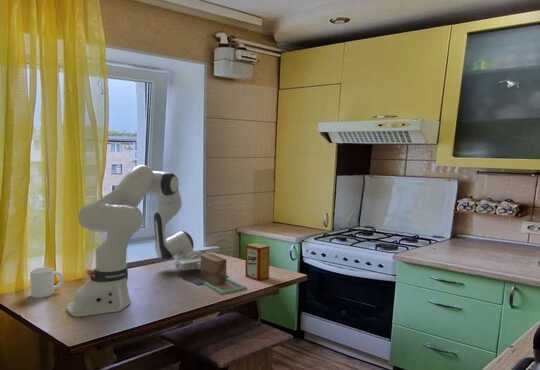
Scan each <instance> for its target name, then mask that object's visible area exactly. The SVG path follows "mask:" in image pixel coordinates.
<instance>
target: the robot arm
mask: <svg viewBox="0 0 540 370" xmlns="http://www.w3.org/2000/svg"><path fill="white" fill-rule="evenodd" d="M146 195H147V196H152V197H153V196H154V197H156V201H157V208H156V211H155V213H154V216H153V227H154V236H155V237H154V238H155V245H154V250H155V254H156V256H157V257H158V258H159V259H161V260H162V261H163V260H164V261H168V260H170V259H172V258H173V259H174V260H175V262H174V265H175V266H177V267H178V269H179V270H180V271H189V270H196V269H201V255H208V254H210V252H209V251H197V250H196V251H195V250H194V239H193V237H192V236H191V234H189V233H188V232H187V231H185V230H180V231H178V232H175V233H174V234H172V235H170V236H169V237H166V227H167V225H168V224H169V222H170V221H171V220H172V219H173V218H174V217H175V216H176V215H178V214H179V212H180V211H181V208H182V205H183V203H182V197H181V193H180V191H179V179H178V177H177V176H176V174H175V173H173V172H169V171H157V170H152V169H151V168H150V167H149V166H148V165H144V164H140V165H137V166H135V167H134V168H133V169H131V170H130V171H129V172H128V173H126V175H125V176H124V177H123V178H122V180H121V181H120V182H119V183H118V185H116V187H115V188H114V189H113V190H111V191H110V192H109V193H107V194H106V195H104V196H102V197H101V198H100V199H97V200H95V201H94V202H90V203H88V204H85V205H83V206H82V207H81V209H80V211H79V213H78V216H77V219H78V223H79V226H80V227H82V228H83V229H85V230H87V231H90V232H91V231H92V232H94V233H95V232H97V233H106V234H107V235H106V239H105V241H104V242H102V243H101V244H99V245H98V246H97V247H96V249H95V268H94V269H93V270H92V269H87V270H86V274H87V275H88V276H89V278H90V279H89V280H88V281H87V282H85V284H83V285H82V286H81V287H79V288H78V289H77V290H76V291H75V293H74V297H73V302H70V303H69V304H68V305H67V308H66V309H67V312H68V314H70V315H71V316H73V317H75V318H76V317H77V318H79V317H87V316H94V315H95V316H96V315H102V314H110V313H116V312H120V311H123V309H124V308H126V307H128V306H129V305H130V304H131V302H132V300H131V298H130V293H129V289H128V278H129V273H128V272H129V271H128V266H127V254H128V253H127V252H128V245H129V243H130V240H131V238H132V237H133V236H134V235H135V234H136V233H137V232H138V231H139V230H140V229H141V228H142V226H143V223H144V216H143V212H142V211H141V210H140V208H139V207H138V206H139V205H140V203H141V202H142V200H143V199H144V198H145V196H146Z"/></svg>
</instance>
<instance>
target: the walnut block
mask: <svg viewBox="0 0 540 370" xmlns="http://www.w3.org/2000/svg"><path fill="white" fill-rule="evenodd" d="M226 275H227V259H226V258H224V257H221V256H218V255H216V254H213V253H209V254H208V255H201V268H200V279H202V280H204V281H205V282H207V283H209V284H211V285H213V286H214V287H216V286H219V285H225V284H226V283H227V281H226Z"/></svg>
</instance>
